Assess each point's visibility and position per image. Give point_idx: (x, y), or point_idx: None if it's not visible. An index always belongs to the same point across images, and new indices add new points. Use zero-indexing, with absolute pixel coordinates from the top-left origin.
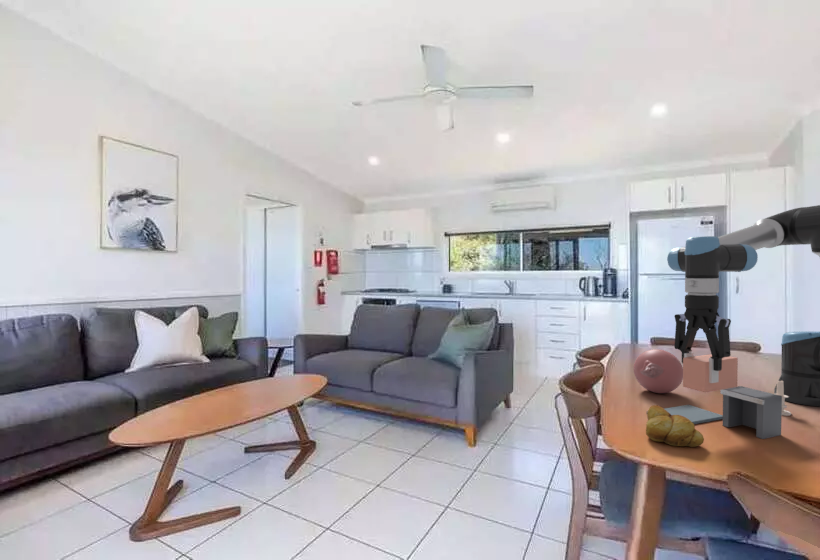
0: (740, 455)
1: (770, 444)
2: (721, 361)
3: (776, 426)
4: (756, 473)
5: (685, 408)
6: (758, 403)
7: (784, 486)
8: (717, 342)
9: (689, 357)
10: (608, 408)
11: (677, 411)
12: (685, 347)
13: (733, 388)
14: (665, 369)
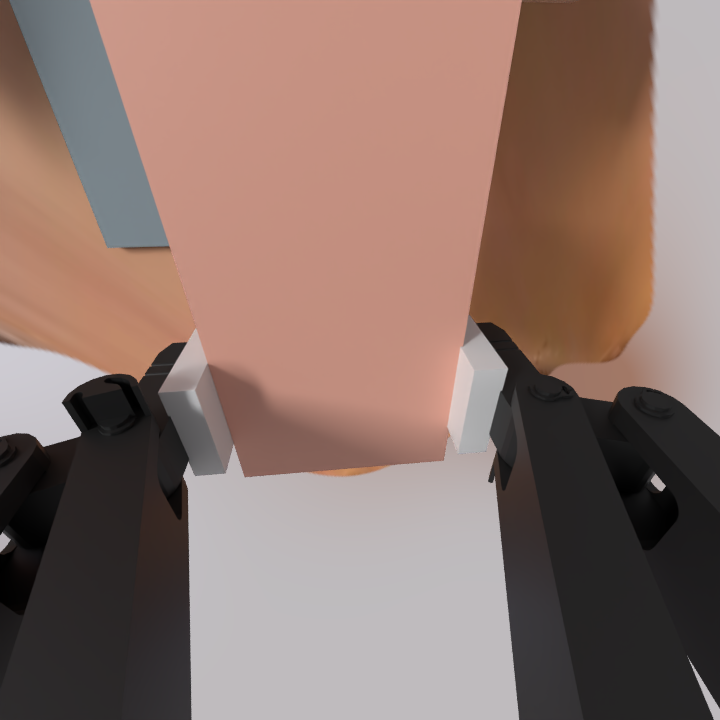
0: (495, 281)
1: (519, 66)
2: (534, 371)
3: None
4: (554, 341)
5: None
6: (550, 2)
7: (606, 345)
8: (631, 586)
9: (247, 431)
10: (40, 332)
11: (108, 90)
12: (183, 535)
13: None
14: None
